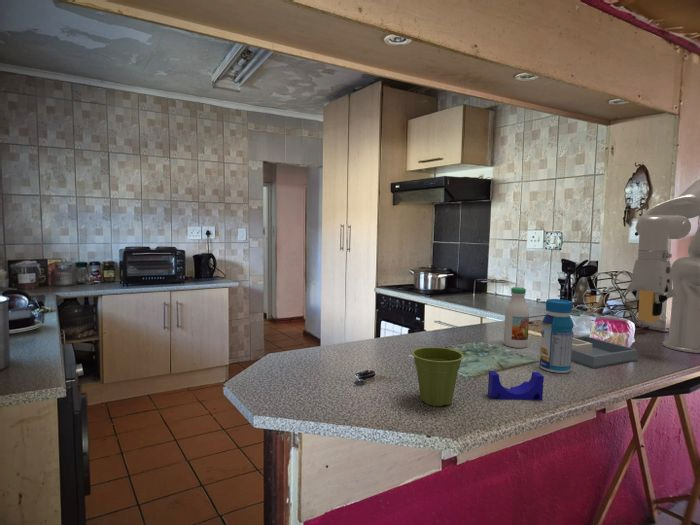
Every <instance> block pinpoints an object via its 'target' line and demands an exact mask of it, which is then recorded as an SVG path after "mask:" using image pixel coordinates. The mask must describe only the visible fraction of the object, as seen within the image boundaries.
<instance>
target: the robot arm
mask: <svg viewBox="0 0 700 525" xmlns="http://www.w3.org/2000/svg"><path fill="white" fill-rule="evenodd" d="M697 217H699V220H700V178H699V179H696V180H695V181H694V182H693V183H692V184H690V185H689V187H687V188H686V189H685V190H684V191H683V192H682V193H680V195H678V196H677V197H674V198H670V199H669V200H666V201H663V202H660V203H658V204H655V205H653V206H651V207H650V208H647V210H646V211H644V213H642V214H641V216H640V217H639V218H638V220H637V222H636V225H635V231H636V233H637V235H638V237H639V238H638V251H637V259H635V261H634V266H633V269H632V275H631V282H630V284H629V285H628V286H627V291H629V292H630V293H632V295H633V296H634V297H635V300H636V301H637V302H636V309H637V313H638V311H639V294H640V289H641V290H647V291H653V293H654V296H655V303H654V304H653V316H658V315H659V316H661V314H662V313H663V303H665V302H666V301H667V300H668V299H671V310H670V320H669V330H668V331H669V333H668V339H667V340H664V341H662V345H663V347H665V348H668V349H671V350H673V351H674V350H675V351H679V352H684V353H695V354H700V224H699V225H698V227H697V229H696V231H695V233H694V235H693V237H692V238H691V241H690V243H689V245H688V249H687V253H688V255H689V256H683V257H679V258H677V259H675V260H674V261H673V262H672V264H671V261H669V260H668V259H671V258H672V256H673V255H672V253H669V251H668V249H669V240H679V239H684V238H686V237H687V236H688V235H689V234H690V232H691V230H692V223H691V221H690V219H694V218H697ZM665 293H666V294H665Z"/></svg>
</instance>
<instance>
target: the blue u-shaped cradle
mask: <svg viewBox="0 0 700 525" xmlns="http://www.w3.org/2000/svg"><path fill="white" fill-rule="evenodd" d="M544 377H545V376H544V375H543V374H542V373H540V372H539V371H532V372H531V376H530V379H529V380H528V381H523V382H522V383H521V384H519V385H515V386H511V387H510V388H507V387H505V386H503V385H502V383H501V380H500V374H498V373H497V371H496V370H488V379H487V380H488V383H487V395H488V396H489V398H490V399H491V400H517V401H518V400H519V401H523V400H524V401H543V399H544V398H543V395H544V393H543V392H544V381H545V380H544V379H545V378H544Z"/></svg>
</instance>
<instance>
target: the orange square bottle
mask: <svg viewBox="0 0 700 525" xmlns="http://www.w3.org/2000/svg"><path fill="white" fill-rule="evenodd" d="M654 303H655V296H654V293H653V291H647V290H641V289H640V294H639V311H638V312H637V313H638V315H637V320H638V321H641V322H644V323H645V322H646V323H649V324H650V323H651V324H652V323H658V322H659V321H660V315H658V316H653V304H654Z"/></svg>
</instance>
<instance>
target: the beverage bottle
mask: <svg viewBox="0 0 700 525" xmlns="http://www.w3.org/2000/svg"><path fill="white" fill-rule="evenodd" d="M545 311H546V312H547V313H546V314H545V315H544V317H543V319H542V322H541V324H542V327H541V331H540V334H541V335H540V336H541V339H540V352H539V353H540V354H539V356H540V357H539V367H540V368H541V369H542V370H543V371H546V372H551V373H557V374H566V373H569V372H570V371H571V370H572V365H571V362H572V361H571V353H572V340H573V337H575V336H574V331H573V328H574V322H573V319H572V318H571V316H570V315H571V314H572V311H573V302H572V301H571V300H568V299H561V298H560V299H559V298H549V299H547V300H546V301H545Z"/></svg>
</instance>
